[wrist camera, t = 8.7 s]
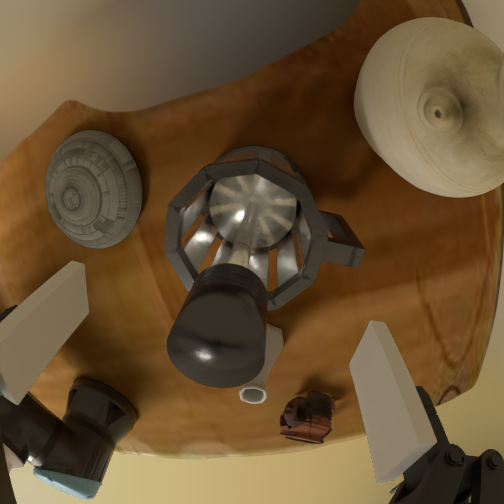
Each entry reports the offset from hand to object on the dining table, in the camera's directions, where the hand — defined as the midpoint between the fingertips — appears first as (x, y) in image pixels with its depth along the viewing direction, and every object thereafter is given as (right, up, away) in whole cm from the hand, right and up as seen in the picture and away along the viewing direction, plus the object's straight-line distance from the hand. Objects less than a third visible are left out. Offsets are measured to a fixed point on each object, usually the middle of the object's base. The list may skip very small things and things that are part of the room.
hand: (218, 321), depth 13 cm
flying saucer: (-18, +11, +21) cm, 30 cm away
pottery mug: (+10, -23, +33) cm, 41 cm away
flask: (+2, -9, +28) cm, 29 cm away
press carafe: (+3, +8, +20) cm, 22 cm away
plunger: (+2, +7, +17) cm, 19 cm away
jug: (+18, +19, +14) cm, 30 cm away
